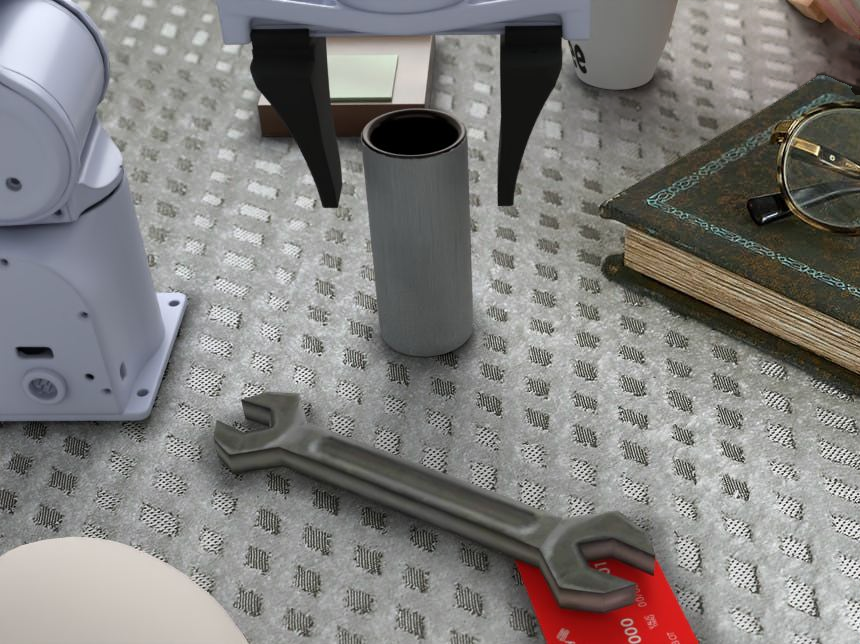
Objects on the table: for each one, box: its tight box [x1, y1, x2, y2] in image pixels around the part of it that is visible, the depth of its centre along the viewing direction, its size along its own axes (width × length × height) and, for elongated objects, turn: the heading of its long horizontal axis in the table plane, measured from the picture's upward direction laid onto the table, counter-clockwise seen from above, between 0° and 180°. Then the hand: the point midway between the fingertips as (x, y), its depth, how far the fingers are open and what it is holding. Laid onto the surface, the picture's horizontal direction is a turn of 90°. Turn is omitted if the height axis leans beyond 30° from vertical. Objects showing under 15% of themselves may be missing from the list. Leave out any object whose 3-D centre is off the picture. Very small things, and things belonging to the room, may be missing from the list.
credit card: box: [514, 557, 700, 644], centre depth 45 cm, size 8×5×1 cm, turn 15°
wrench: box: [212, 391, 656, 614], centre depth 48 cm, size 5×2×20 cm
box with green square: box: [257, 35, 437, 137], centre depth 76 cm, size 13×10×4 cm
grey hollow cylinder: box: [360, 108, 474, 357], centre depth 54 cm, size 4×4×10 cm
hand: (418, 195), depth 53 cm, fingers open, 7 cm apart
